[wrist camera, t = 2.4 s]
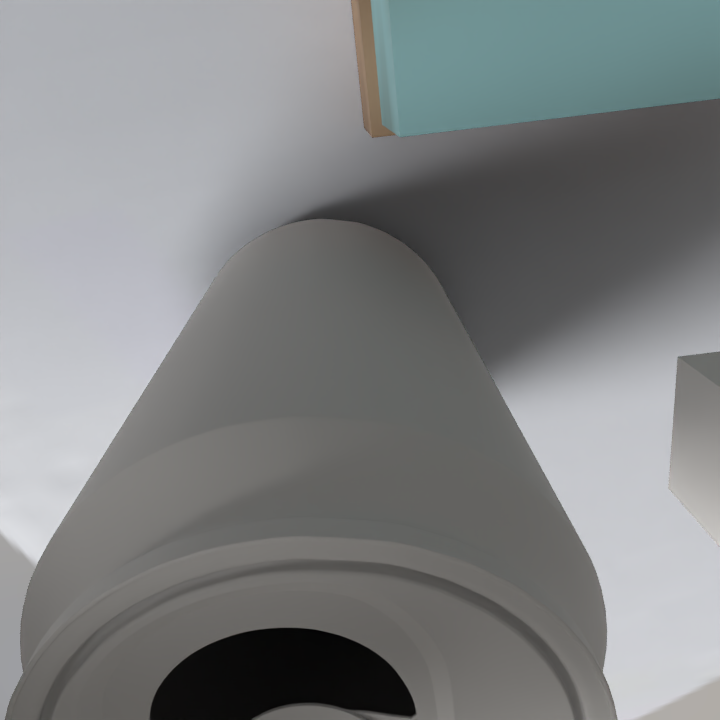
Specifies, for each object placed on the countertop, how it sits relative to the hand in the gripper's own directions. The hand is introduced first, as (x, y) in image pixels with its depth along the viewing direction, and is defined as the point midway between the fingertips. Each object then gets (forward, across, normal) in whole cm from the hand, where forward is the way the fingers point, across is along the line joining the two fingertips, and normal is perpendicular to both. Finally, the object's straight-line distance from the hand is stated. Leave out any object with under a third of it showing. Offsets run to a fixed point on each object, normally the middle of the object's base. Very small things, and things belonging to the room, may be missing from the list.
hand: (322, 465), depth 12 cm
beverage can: (+6, 0, 0) cm, 6 cm away
